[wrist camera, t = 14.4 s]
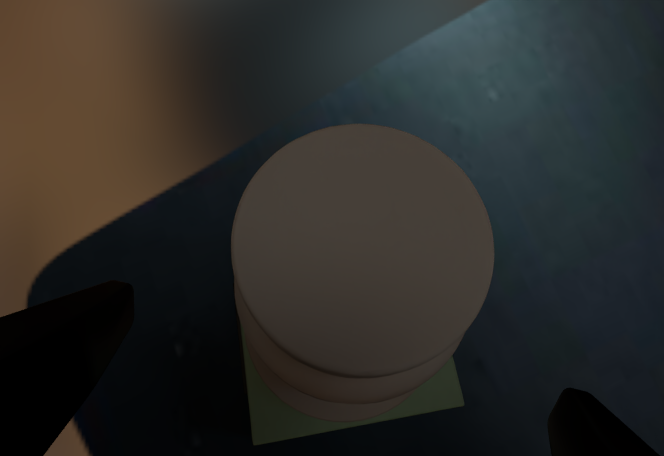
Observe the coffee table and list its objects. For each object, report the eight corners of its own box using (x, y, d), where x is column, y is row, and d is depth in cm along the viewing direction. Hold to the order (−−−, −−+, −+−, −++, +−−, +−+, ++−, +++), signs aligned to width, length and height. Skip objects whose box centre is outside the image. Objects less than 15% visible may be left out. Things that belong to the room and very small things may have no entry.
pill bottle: (409, 245, 18) (503, 96, 9) (423, 394, 16) (563, 407, 7) (267, 249, 18) (210, 101, 9) (265, 400, 16) (189, 421, 7)
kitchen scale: (255, 440, 18) (244, 449, 16) (235, 253, 21) (223, 234, 18) (449, 403, 19) (470, 406, 16) (407, 226, 21) (419, 204, 19)
